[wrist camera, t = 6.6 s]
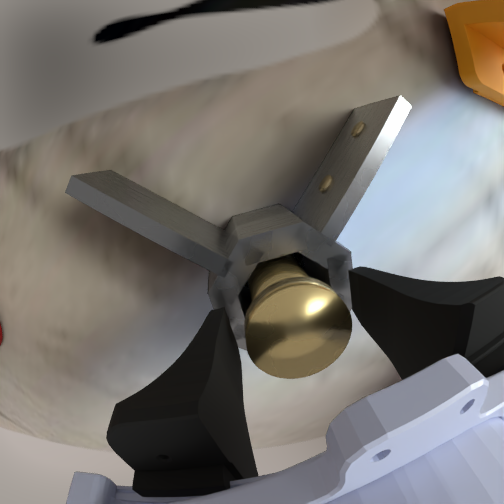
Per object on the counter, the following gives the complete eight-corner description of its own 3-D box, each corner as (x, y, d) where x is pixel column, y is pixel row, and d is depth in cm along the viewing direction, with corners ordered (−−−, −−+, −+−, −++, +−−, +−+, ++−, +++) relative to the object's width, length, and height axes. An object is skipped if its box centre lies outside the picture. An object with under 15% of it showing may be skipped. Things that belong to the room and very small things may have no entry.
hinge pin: (314, 257, 18) (371, 319, 10) (276, 306, 19) (305, 390, 11) (263, 220, 17) (292, 265, 9) (224, 274, 18) (224, 352, 10)
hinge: (396, 143, 16) (447, 144, 11) (284, 324, 19) (303, 371, 14) (204, 20, 13) (201, -24, 8) (87, 225, 16) (47, 249, 11)
